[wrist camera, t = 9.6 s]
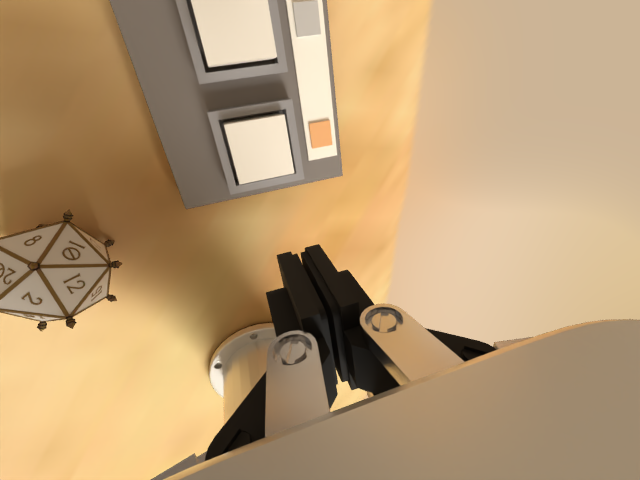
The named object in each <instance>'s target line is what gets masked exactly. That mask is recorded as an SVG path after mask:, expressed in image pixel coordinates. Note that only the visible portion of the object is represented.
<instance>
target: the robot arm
mask: <svg viewBox="0 0 640 480" xmlns="http://www.w3.org/2000/svg"><path fill="white" fill-rule="evenodd" d="M301 258H302V263H301V261H300V259H299V257H298V255H297V254H294V255H292V253H291V252H287V253H283V254H279V255H277V259H278V263H279V268H280V272H281V276H282V281H283V285H284V288H280V289H277V290H273V291H270V292H266V295H267V299H268V304H269V308H270V312H271V316H272V320H273V323H264V324H257V325H254V326H250V327H247V328H245V329H242V330H240V331H238V332H236V333H234V334H233V335H231V336H230V337H228V338H227V339H226V340H225V341H224V342H222V343H221V345H220V346H219V347H218V348H217V349H216V351H215V353H214V354H213V356H212V358H211V362H210V369H209V377H210V383H211V385H212V387H213V389H214V390H215V391H216V392H217V393H218V394H219V395H220V396H222V397H223V398H224V426H223V427H222V429H221V430H220V431H219V432H218V434H217V435H216V436H215V438H214V439H213V441H212V442H211V444H210V446H209V447H208V450H207V451H206V452H205V453H203V454H201V455H200V456H198V457H196V455H195V453H194V454H193V455H191V456H189V457H188V458H186V459H184V460H183V461H181V462H179V463H178V464H176V465H174V466H173V467H171V468H169V469H168V470H166V471H164V472H163V473H161V474H159V475H158V476H156V477H154V478H153V479H151V480H640V320H633V319H632V320H631V319H629V320H628V319H623V320H601V321H592V322H586V323H581V324H576V325H572V326H567V327H564V328H560V329H557V330H554V331H551V332H547V333H544V334H541V335H538V336H535V337H529V338H523V339H514V340H507V341H499V342H494V346H493V347H492V346H490V345H489V344H486V343H483V342H480V341H477V340H472V339H468V338H464V337H460V336H456V335H451V334H447V333H443V332H439V331H434V330H430V329H426V328H424V327H423V326H422V325H420V324H419V323H418V322H417V321H416V320H414V319H413V318H412V317H411V316H410V315H408V314H407V313H406V312H405V311H404V310H402V309H401V308H399V307H397V306H394V305H391V304H376V305H374V303H373V302H372V301H371V299H370V298H369V297H368V295H367V294H366V293H365V292H364V290H363V289H362V288H361V286H360V285H359V284H358V282H357V281H356V280H355V278H354V277H353V276H352V274H351V273H350V272H349V271H348V270H344V271H341V272H338V271H337V270H336V268H335V267H334V265H333V264H332V262H331V261H330V260H329V258H328V257H327V255H326V254H325V252H324V251H323V249H322V248H321V247H320V245H319V244H318V245H314V246H310V247H306V248H305V252H301ZM302 264H303V265H302ZM335 367H336V368H335ZM336 370H337V372H338V374H339V377H340V379H341V381H342V382H344V381H348V383H349V385H350V388H351V390H354V389H357V388H360V389H362V390H365V391H367V395H368V397H369V398H367V399H364V400H362V401H359V402H356V403H354V404H351V405H349V406H346V407H343V408H341V409H338V410H335V411H333V412H330V408H331V406H332V404H333V402H334V400H335V398H336V396H337V389H336V384H338V381H337V375H336Z"/></svg>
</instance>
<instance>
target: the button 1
mask: <svg viewBox="0 0 640 480" xmlns="http://www.w3.org/2000/svg"><path fill="white" fill-rule="evenodd" d="M224 128H225V131H226V135H227V139H228V143H229V147H230V150H231V154H232V158H233V162H234V166H235V169H236V173H237V177H238V181H239V185H240V184H245V183H250V182H254V181H259V180H264V179H269V178H274V177H278V176H283V175H288V174H293V173H294V168H293V162H292V156H291V150H290V144H289V138H288V132H287V126H286V120H285V115H284V114H282V113H275V114H269V115H263V116H257V117H251V118H245V119H239V120H233V121H227V122H224Z"/></svg>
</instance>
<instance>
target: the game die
mask: <svg viewBox="0 0 640 480" xmlns="http://www.w3.org/2000/svg"><path fill="white" fill-rule="evenodd" d="M72 216H73V215H72V213H71V211H70V210H68V211H67V212H66V213H64V216H63V218H64V221H61V222H57V223H53V224H49V225H46V226H42V225H40V224H39V226H38V227H36V228H35V229H31V230H27V231H23V232H20V233H16V234H12V235H9V236H5V237H1V238H0V312H1V313H5V314H9V315H14V316H18V317H23V318H27V319H31V320H36V321H40V323H39V324H38V326H37V328H39V330H40V331H42V330H44V329H45V328H46V326H47V323H46V321H55V320H63V319H67V320H66V325H67V327H70V328H72V329H73V327H74V325H75V323H76V322H75V319H73V318H72V317H74V316H75V315H77V314H79V313H81V312H82V311H84V310H86V309H87V308H89V307H91V306H93V305H94V304H96V303H98V302H99V301H101V300H103V299H105V298H107V299H108V301H109V300H110V301H111V302H112V301H117V299H116V297H115V296H113V295H109V285H110V276H111V267H113V268H119V266H120V265H122V263H120V262H119V261H114V262H112V263H111V261H110V258H109V254H108V251H107V247H109V246H111V245H113V243H114V241H113V240H108V241H105V243H104V244H103V243H102V242H100V241H99V240H97V239H95V238H94V237H92V236H91V235H89V234H88V233H86V232H85V231H83V230H82V229H80V228H78V227H77V226H75V225H74V224H72V223H71V222H70V220H71V219H72Z"/></svg>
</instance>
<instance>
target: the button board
mask: <svg viewBox="0 0 640 480" xmlns="http://www.w3.org/2000/svg"><path fill="white" fill-rule="evenodd" d="M109 1H110V4H111V6H112V9H113V12H114V14H115V17H116V20H117V23H118V25H119V28H120V31H121V34H122V36H123V39H124V42H125V44H126V47H127V50H128V53H129V55H130V58H131V61H132V64H133V66H134V69H135V72H136V75H137V77H138V80H139V83H140V85H141V88H142V91H143V94H144V96H145V99H146V102H147V105H148V107H149V110H150V113H151V115H152V118H153V121H154V124H155V126H156V129H157V132H158V135H159V137H160V140H161V143H162V145H163V148H164V151H165V154H166V156H167V159H168V162H169V165H170V167H171V170H172V173H173V175H174V178H175V181H176V184H177V186H178V189H179V192H180V195H181V197H182V200H183V203H184V206H185V208H186V209H190V208H195V207H199V206H204V205H208V204H213V203H218V202H222V201H227V200H232V199H236V198H241V197H246V196H250V195H255V194H260V193H264V192H269V191H273V190H278V189H283V188H287V187H292V186H297V185H301V184H306V183H311V182H315V181H320V180H325V179H329V178H334V177H338V176H343V174H342V163H341V152H340V141H339V130H338V119H337V108H336V97H335V86H334V75H333V64H332V53H331V42H330V31H329V20H328V9H327V0H268V5H269V11H270V17H271V23H272V29H273V35H274V41H275V47H276V53H277V57H276V58H274V59H270V60H262V61H255V62H247V63H240V64H232V65H224V66H217V67H208V64H207V60H206V56H205V52H204V49H203V45H202V41H201V37H200V33H199V30H198V26H197V22H196V18H195V14H194V11H193V7H192V3H191V0H109ZM275 113H282V114H284V115H285V120H286V126H287V132H288V138H289V144H290V150H291V156H292V162H293V168H294V173H293V174H288V175H283V176H278V177H274V178H269V179H264V180H259V181H254V182H250V183H245V184H240V185H239V181H238V177H237V173H236V169H235V166H234V162H233V158H232V154H231V150H230V147H229V143H228V139H227V135H226V131H225V128H224V122H227V121H233V120H239V119H245V118H251V117H257V116H263V115H269V114H275Z"/></svg>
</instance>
